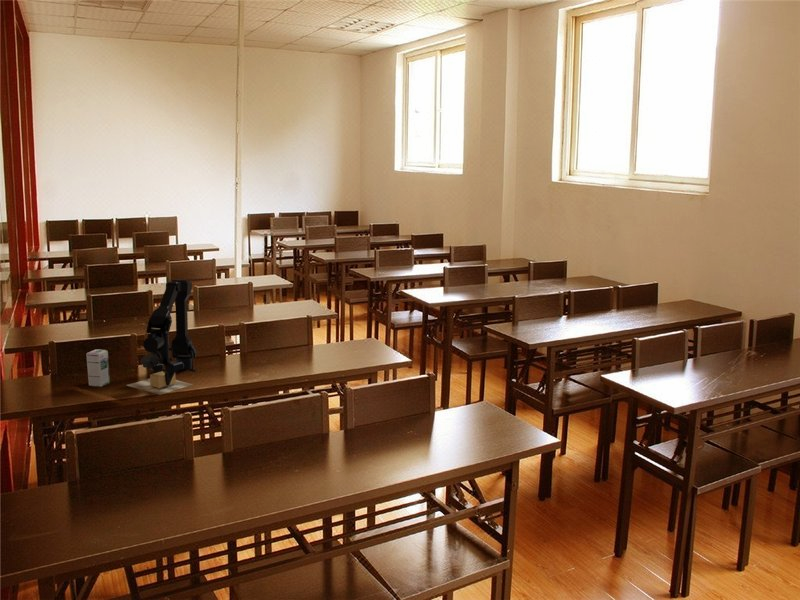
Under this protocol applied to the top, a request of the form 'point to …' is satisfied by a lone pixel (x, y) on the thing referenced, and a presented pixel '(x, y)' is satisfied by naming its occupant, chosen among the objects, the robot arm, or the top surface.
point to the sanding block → (160, 380)
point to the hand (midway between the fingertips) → (163, 384)
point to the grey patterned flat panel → (146, 386)
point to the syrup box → (98, 367)
